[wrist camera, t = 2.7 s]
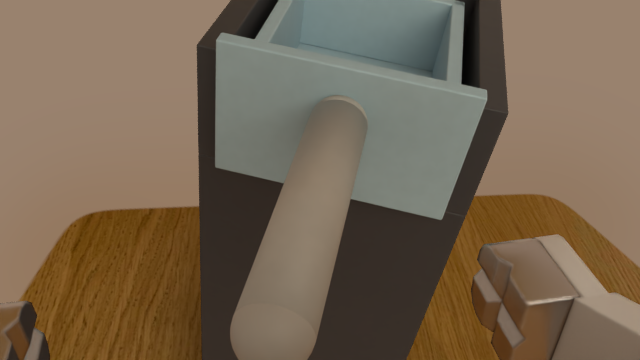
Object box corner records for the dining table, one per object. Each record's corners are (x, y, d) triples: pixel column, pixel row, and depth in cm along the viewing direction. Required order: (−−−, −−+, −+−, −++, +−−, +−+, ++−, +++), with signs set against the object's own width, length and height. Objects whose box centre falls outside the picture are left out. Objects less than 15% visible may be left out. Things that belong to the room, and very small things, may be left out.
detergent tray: (89, 400, 16) (52, 265, 12) (280, 43, 31) (290, -65, 27) (424, 488, 15) (494, 375, 11) (451, 80, 30) (485, -26, 26)
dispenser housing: (202, 404, 38) (196, 44, 21) (251, 274, 46) (276, -61, 29) (369, 448, 37) (508, 113, 20) (389, 308, 45) (499, -15, 28)
